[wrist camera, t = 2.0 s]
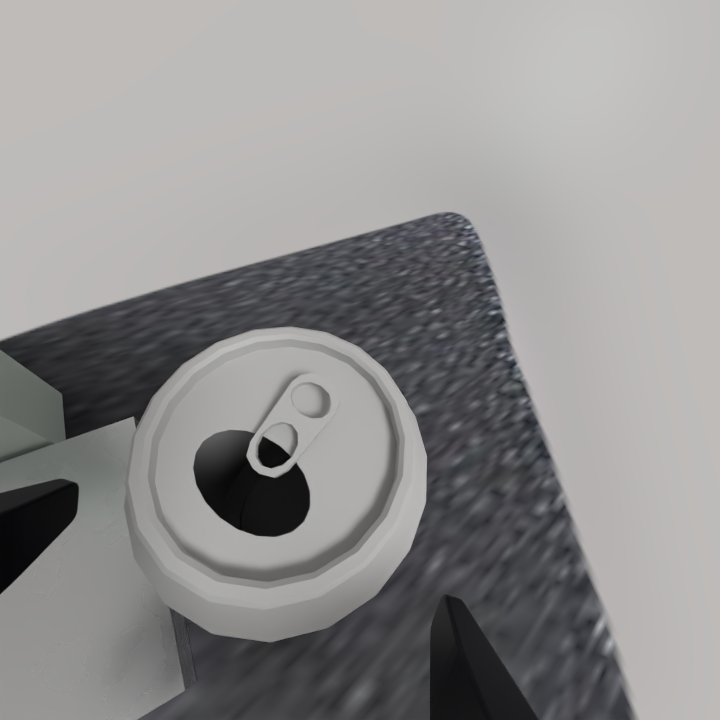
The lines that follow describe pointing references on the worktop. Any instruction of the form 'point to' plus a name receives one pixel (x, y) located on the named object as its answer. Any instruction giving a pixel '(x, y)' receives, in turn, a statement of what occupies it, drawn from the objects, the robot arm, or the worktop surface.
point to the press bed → (87, 600)
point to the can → (274, 484)
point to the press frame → (27, 411)
